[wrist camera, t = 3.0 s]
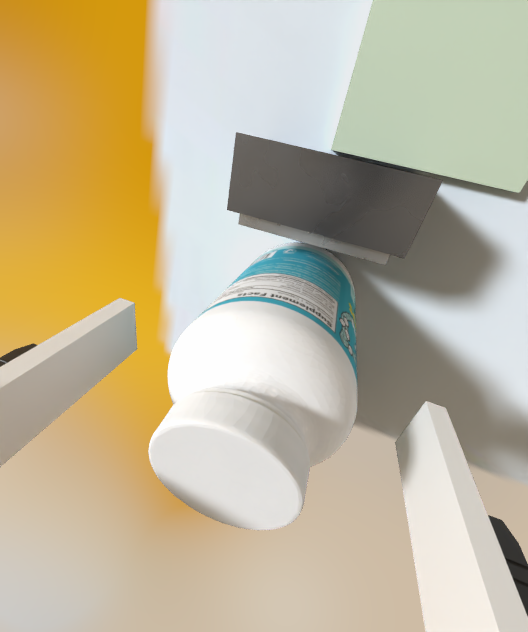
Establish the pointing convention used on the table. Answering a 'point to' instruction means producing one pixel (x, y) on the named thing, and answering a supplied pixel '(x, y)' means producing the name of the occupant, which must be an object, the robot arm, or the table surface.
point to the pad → (442, 90)
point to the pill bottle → (261, 390)
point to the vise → (328, 199)
